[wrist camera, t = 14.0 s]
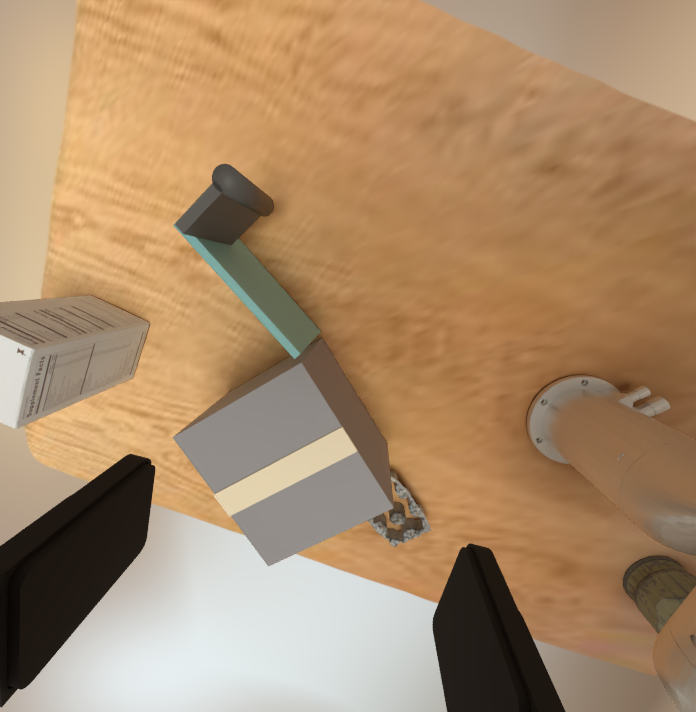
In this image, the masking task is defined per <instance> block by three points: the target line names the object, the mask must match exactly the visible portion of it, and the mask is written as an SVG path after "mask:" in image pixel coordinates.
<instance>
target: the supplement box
mask: <svg viewBox="0 0 696 712" xmlns="http://www.w3.org/2000/svg"><path fill="white" fill-rule="evenodd" d="M149 325H150V323H149V322H147V321H145V320H143V319H141V318H139V317H136V316H134V315H132V314H130V313H128V312H126V311H124V310H121V309H119V308H117V307H115V306H113V305H111V304H109V303H107V302H105V301H102V300H100V299H98V298H96V297H94V296H92V295H87V296H74V297H62V298H49V299H37V300H24V301H10V302H0V423H3V424H5V425H7V426H9V427H12V428H14V429H17V428H20V427H22V426H24V425H26V424H29V423H31V422H33V421H36V420H38V419H40V418H42V417H45V416H47V415H49V414H52V413H54V412H56V411H58V410H61V409H63V408H65V407H68V406H70V405H72V404H74V403H77V402H79V401H81V400H83V399H86V398H88V397H91V396H93V395H95V394H98V393H100V392H102V391H105V390H107V389H109V388H111V387H114V386H116V385H118V384H121V383H123V382H125V381H128V380H130V379H132V378H133V376H134V373H135V370H136V367H137V364H138V360H139V357H140V354H141V351H142V348H143V344H144V341H145V338H146V335H147V331H148V328H149Z"/></svg>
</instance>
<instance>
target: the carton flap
mask: <svg viewBox="0 0 696 712" xmlns="http://www.w3.org/2000/svg"><path fill="white" fill-rule="evenodd" d="M212 182H213V183H212V184H211V185H210V187H209V188H208V189H207V190H206V191H205V192H204V193H203V194H202V195H201V196H200V197H199V198H198V199H197V201H196V202H195V203H194V204H193V205H192V206H191V207H190V208H189V209H188V210H187V211H186V212H185V213H184V215H183V216H182V217H181V218H180V219H179V220H178V221H177V222H176V223H175V224H174V225H173V226H174V227H175V228H176V229H177V230H178V231H179V232H180V233H181V234H182V236H183V237H184V238H185V239H186V240H187V241H188V242H189V243H190V244H191V245H192V247H193V248H194V249H195V250H196V251H197V252H198V253H199V254H200V255H201V256H202V258H203V259H204V260H205V261H206V262H207V263H208V264H209V265H210V266H211V268H212V269H213V270H214V271H215V272H216V273H217V274H218V275H219V276H220V277H221V279H222V280H223V281H224V282H225V283H226V284H227V285H228V286H229V287H230V289H231V290H232V291H233V292H234V293H235V294H236V295H237V296H238V297H239V298H240V300H241V301H242V302H243V303H244V304H245V305H246V306H247V307H248V308H249V309H250V311H251V312H252V313H253V314H254V315H255V316H256V317H257V318H258V319H259V321H260V322H261V323H262V324H263V325H264V326H265V327H266V328H267V329H268V330H269V332H270V333H271V334H272V335H273V336H274V337H275V338H276V339H277V340H278V342H279V343H280V344H281V345H282V346H283V347H284V348H285V349H286V350H287V351H288V353H289V354H290V355H291V356H292V357H293V358H294V359H295V358H296V357H298V356H299V355H300V354H301V353H302V352H303V351H304V350H305V349H306V347H307V346H308V345H309V344H310V343H311V342H312V341H313V340H314V339H315V338H316V337H317V336H318V334H319V333H320V332H321V331H320V330H319V329H318V328H317V327H316V325H315V324H314V323H313V322H312V321H311V320H310V319H309V317H308V316H307V315H306V314H305V313H304V312H303V311H302V309H301V308H300V307H299V306H298V305H297V304H296V303H295V301H294V300H293V299H292V298H291V297H290V296H289V295H288V294H287V292H286V291H285V290H284V289H283V288H282V287H281V286H280V284H279V283H278V282H277V281H276V280H275V279H274V278H273V276H272V275H271V274H270V273H269V272H268V271H267V270H266V268H265V267H264V266H263V265H262V264H261V263H260V262H259V261H258V259H257V258H256V257H255V256H254V255H253V254H252V253H251V251H250V250H249V249H248V248H247V247H246V246H245V245H244V243H243V242H242V241H241V240H240V239H239V237H240V236H241V235H242V234H243V233H244V232H245V231H246V230H247V229H248V228H249V227H250V226H251V225H252V224H253V223H254V222H255V221H256V220H257V219H258V218H259V217H260V216H268V215H270V214H271V213H272V212H273V209H274V203H273V200H272V199H271V198H270V197H269V196H268V195H267V194H266V193H264V192H263V191H262V190H261V189H259V188H258V187H257V186H256V185H254V184H253V183H252V182H251V181H249V180H248V179H247V178H246V177H245V176H243V175H242V174H241V173H240V172H238V171H237V170H236V169H235V168H233V167H232V166H231V165H228V164H221V165H219V166H217V167H216V168H215V169H214V171H213V174H212Z"/></svg>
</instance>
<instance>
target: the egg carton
mask: <svg viewBox="0 0 696 712" xmlns="http://www.w3.org/2000/svg"><path fill="white" fill-rule="evenodd" d="M390 475H391V481H394V484H395V491H396V493H397V495H398V496H399V498H403V499H405V498H406V497H407V499H408V505H409V510H410V513H411V514H412V515H413V516H415V517H416V516H418V517H419V518H420V517H421V518H420V519H418V520H414V519H411V518H406V516H405V510H404V506H403V505H402V504H401V503H398V502H394V503H393V504H394V508H393V509H391V510H389V515H390V519H389V520H390V521H391V522H392V523H393V524H395V525H400V524H402V529H401V530H399V531H397V530H395V529H387V523H386V517H385V516H384V515H383V514H380V515H378V516H376V517H374V518H371V519H369V520H367V521H368V522H369V523H370V524H371V525H372V526H373V527H374V529H375V530H376V532H377V533H379V534H380V535H381V536H383V537H384V538H385V539H387V540H389V542H390V544H391V545H392V546H394V547H396V546H397V544H398V543H400V542H403V543H406V541H407V540H411V539H413V538H415V537H419V536H420V535H421V533H425V532H428V531H431V528H430V526H429V523H428V521H427V519H426V517H425V514H424V510H423V507H422V506H421V504H416V503H415V501H414V500H413V498H412V497H411V492H410V490H409V489H408V488H407V487H406V488H404V486H403V485H402V484H401V483H400V482H399V481H398V477H397V474H396V473H395V472H394V471H390Z"/></svg>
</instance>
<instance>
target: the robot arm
mask: <svg viewBox="0 0 696 712" xmlns="http://www.w3.org/2000/svg"><path fill="white" fill-rule="evenodd" d="M650 395H651V392H650V390H649V389H648V388H647V387H645V386H640V387H638V388H636V389H634V390H632V391H631V392H629V393H627V394H625V393H620V391H619V390H618V389H617V388H615V387H614V386H613V385H612V384H610V383H608V382H606V381H604V380H602V379H600V378H597V377H593V376H589V375H575V376H568V377H565V378H562V379H559V380H557V381H555V382H553V383H551V384H550V385H548V386H547V387H545V388H544V389H543V390H542V391H541V392H540V393H539V394H538V395H537V396H536V398H535V399H534V401H533V402H532V404H531V406H530V409H529V411H528V416H527V431H528V435H529V437H530V439H531V442H532V443H533V444H534V446H535V447H536V448H537V449H538V450H539V451H540V452H541V453H542V454H543V455H545V456H546V457H548V458H549V459H551V460H554V461H556V462H560V463H564V464H571V465H572V466H573V467H574V468H575V469H576V470H577V471H578V472H579V473H580V474H582V475H583V476H584V477H585V478H586V479H587V480H588V481H589V482H590V483H591V484H592V485H593V486H594V487H595V488H597V489H598V490H599V491H600V492H601V493H602V494H603V495H604V496H605V497H606V498H607V499H608V500H609V501H611V502H612V503H613V504H614V505H615V506H616V507H617V508H618V509H619V510H620V511H621V512H622V513H623V514H625V515H626V516H627V517H628V518H629V519H630V520H631V521H632V522H633V523H634V524H635V525H636V526H637V527H639V528H640V529H641V530H642V531H643V532H644V533H646V534H647V535H648V536H650V537H651V538H653V539H654V540H656V541H657V542H659V543H661V544H663V545H665V546H667V547H669V548H672V549H674V550H677V551H680V552H684V553H687V554H691V555H695V556H696V440H695V439H693V438H691V437H689V436H687V435H685V434H683V433H681V432H679V431H677V430H675V429H673V428H671V427H669V426H667V425H665V424H663V423H661V422H659V421H657V420H655V419H653V418H651V416H656V415H658V414H660V413H663V412H665V411H667V410H669V409H670V408H671V407H670V404H669V403H668V402H667V400H665V399H664V398H663V397H661V396H656V397H654V398H652V399H650V400H647V401H645V402H643V404H641V405H638V406H636V407H635V406H632V405H633V402H635V401H638V400H641V399H643V398H645V397H648V396H650ZM154 476H155V466H154V465H151V460H150V459H148V458H145V457H141V456H137V455H133V454H129V455H127V456H125V457H124V458H122V459H121V460H120V461H118V462H117V463H116V464H114V465H113V466H111V467H110V468H109V469H107V470H106V471H105V472H103V473H102V474H100V475H99V476H98V477H96V478H95V479H94V480H92V481H91V482H89V483H88V484H87V485H85V486H84V487H83V488H81V489H80V490H78V491H77V492H76V493H74V494H73V495H71V496H69V497H68V498H66V499H65V500H64V501H62V502H61V503H59V504H58V505H57V506H55V507H54V508H52V509H51V510H50V511H48V512H47V513H45V514H44V515H43V516H41V517H40V518H39V519H37V520H36V521H34V522H33V523H32V524H30V525H29V526H28V527H26V528H25V529H23V530H22V531H21V532H19V533H18V534H16V535H15V536H14V537H12V538H11V539H10V540H8V541H7V542H5V543H4V544H3V545H1V546H0V707H2V706H3V705H4V704H5V703H6V702H7V701H8V699H9V698H10V697H11V696H12V695H13V694H14V692H15V691H16V690H17V689H24V688H25V687H27V686H28V685H29V684H30V683H31V682H32V681H33V680H34V679H35V677H36V676H37V675H38V674H39V673H40V671H41V670H42V669H43V668H44V667H45V665H46V664H47V663H48V662H49V661H50V660H51V658H52V657H53V656H54V655H55V654H56V652H57V651H58V650H59V649H60V648H61V646H62V645H63V644H64V643H65V642H66V640H67V639H68V638H69V637H70V636H71V634H72V633H73V632H74V631H75V630H76V628H77V627H78V626H79V625H80V624H81V623H82V621H83V620H84V619H85V618H86V617H87V615H88V614H89V613H90V612H91V610H92V609H93V608H94V607H95V606H96V605H97V603H98V602H99V601H100V600H101V599H102V597H103V596H104V595H105V594H106V593H107V592H108V590H109V589H110V588H111V587H112V585H113V584H114V583H115V582H116V581H117V580H118V578H119V577H120V576H121V575H122V574H123V572H124V571H125V570H126V569H127V567H128V566H129V565H130V564H131V563H132V562H133V561H134V559H135V558H136V557H137V556H138V554H139V553H140V552H141V550H142V549H143V547H144V545H145V542H146V539H147V532H148V524H149V516H150V508H151V500H152V492H153V484H154ZM433 634H434V639H435V645H436V651H437V656H438V661H439V667H440V673H441V679H442V684H443V689H444V696H445V701H446V707H447V712H565V710H564V708H563V705H562V703H561V701H560V699H559V696H558V694H557V692H556V690H555V688H554V685H553V683H552V681H551V679H550V676H549V674H548V672H547V670H546V668H545V665H544V663H543V661H542V659H541V657H540V654H539V652H538V650H537V648H536V645H535V643H534V641H533V639H532V636H531V634H530V632H529V630H528V627H527V625H526V623H525V621H524V619H523V617H522V615H521V613H520V612H519V611H518V608H517V606H516V604H515V602H514V599H513V597H512V595H511V593H510V590H509V588H508V586H507V584H506V582H505V579H504V577H503V575H502V573H501V570H500V568H499V566H498V564H497V561H496V559H495V557H494V555H493V552H492V551H491V550H490V549H489V548H486V547H482V546H478V545H475V544H468V545H467V547H466V548H465V547H462V548H461V550H460V552H459V554H458V557H457V559H456V562H455V564H454V567H453V569H452V572H451V574H450V577H449V579H448V582H447V584H446V586H445V589H444V591H443V594H442V596H441V599H440V601H439V604H438V606H437V609H436V611H435V614H434V617H433ZM653 661H654V666H655V669H656V672H657V675H658V677H659V679H660V681H661V683H662V685H663V687H664V688H665V690H666V692H667V694H668V695H669V696H670V698H671V700H672V701H673V702H674V704H675V705H676V707H677V708H678V709H679V710H680V712H696V586H695V588H694V589H693V590H692V591H691V593H690V594H689V595H688V596H687V598H686V599H685V600H684V601H683V603H682V604H681V605H680V606H679V608H678V609H677V610H676V611H675V613H674V614H673V615H672V616H671V618H670V619H669V620H668V621H667V623H666V624H665V625H664V627H663V628H662V630H661V631H660V633H659V634H658V636H657V638H656V640H655V643H654V647H653Z"/></svg>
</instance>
